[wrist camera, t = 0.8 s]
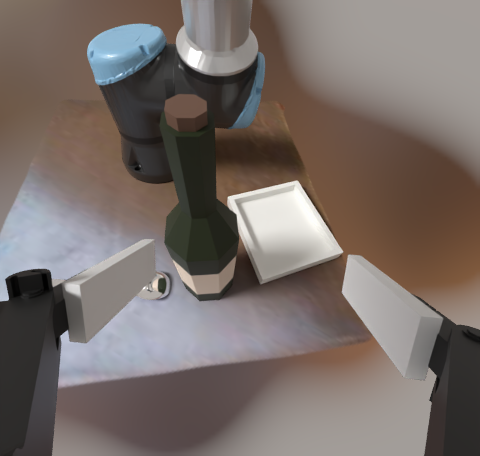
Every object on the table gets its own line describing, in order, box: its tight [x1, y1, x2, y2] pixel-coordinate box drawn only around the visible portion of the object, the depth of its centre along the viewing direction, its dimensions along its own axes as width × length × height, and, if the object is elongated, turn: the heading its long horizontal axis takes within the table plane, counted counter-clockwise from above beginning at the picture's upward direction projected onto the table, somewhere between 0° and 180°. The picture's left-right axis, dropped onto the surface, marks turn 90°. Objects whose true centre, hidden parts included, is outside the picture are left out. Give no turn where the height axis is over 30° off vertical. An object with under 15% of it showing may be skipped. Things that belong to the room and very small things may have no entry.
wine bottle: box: [160, 94, 239, 301], centre depth 25 cm, size 8×8×30 cm
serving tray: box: [228, 181, 343, 284], centre depth 43 cm, size 18×16×2 cm
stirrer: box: [52, 271, 170, 300], centre depth 35 cm, size 20×4×5 cm
